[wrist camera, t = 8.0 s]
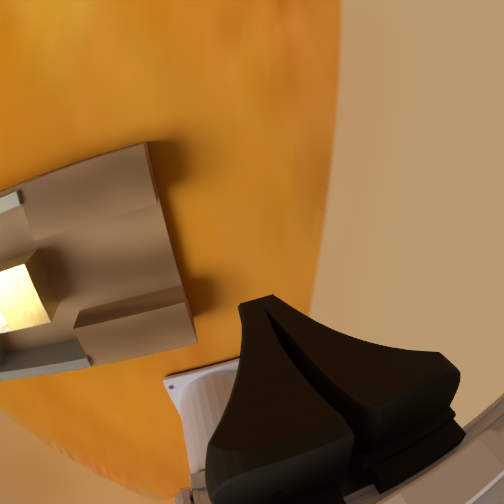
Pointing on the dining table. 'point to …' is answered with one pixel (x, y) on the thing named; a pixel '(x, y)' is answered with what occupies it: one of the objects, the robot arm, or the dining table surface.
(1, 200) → the tray
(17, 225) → the slot board
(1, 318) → the silvery white square block
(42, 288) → the brass chip
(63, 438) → the dining table surface
